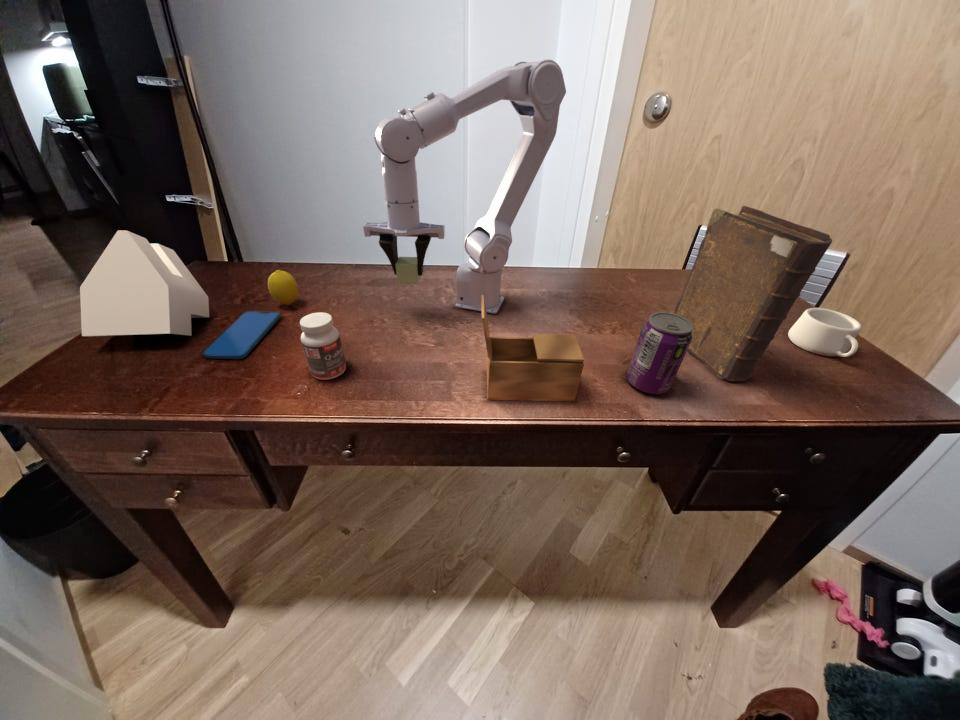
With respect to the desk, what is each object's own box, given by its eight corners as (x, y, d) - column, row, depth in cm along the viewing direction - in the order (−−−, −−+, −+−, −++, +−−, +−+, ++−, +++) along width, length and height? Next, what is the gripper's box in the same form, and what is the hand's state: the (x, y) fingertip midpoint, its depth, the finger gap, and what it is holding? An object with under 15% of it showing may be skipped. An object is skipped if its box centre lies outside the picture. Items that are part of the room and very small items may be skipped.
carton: (487, 400, 57) (489, 357, 52) (486, 372, 63) (488, 332, 58) (574, 401, 58) (585, 359, 53) (566, 374, 63) (575, 334, 58)
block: (397, 283, 71) (395, 264, 69) (401, 275, 74) (399, 256, 72) (418, 284, 71) (416, 264, 69) (420, 276, 74) (419, 257, 72)
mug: (775, 331, 77) (790, 305, 73) (819, 331, 77) (836, 306, 74) (819, 365, 67) (839, 338, 64) (869, 366, 68) (892, 338, 64)
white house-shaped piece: (210, 337, 75) (206, 249, 75) (170, 333, 64) (165, 230, 64) (135, 340, 73) (132, 250, 73) (81, 336, 62) (77, 230, 62)
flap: (491, 358, 52) (488, 358, 52) (489, 333, 58) (487, 333, 58) (484, 317, 48) (481, 318, 48) (483, 294, 54) (481, 295, 54)
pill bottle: (336, 383, 59) (323, 331, 53) (304, 378, 60) (287, 327, 54) (352, 362, 64) (341, 312, 58) (322, 358, 64) (308, 308, 59)
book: (753, 383, 63) (844, 237, 48) (716, 386, 62) (797, 238, 47) (693, 331, 76) (750, 204, 61) (662, 333, 75) (711, 205, 60)
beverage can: (673, 400, 58) (702, 337, 51) (627, 393, 59) (650, 331, 52) (664, 373, 64) (690, 313, 57) (622, 367, 65) (642, 307, 58)
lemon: (268, 307, 78) (256, 272, 74) (288, 297, 83) (278, 263, 78) (288, 313, 77) (277, 277, 72) (308, 302, 81) (298, 267, 76)
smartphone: (199, 354, 63) (245, 310, 75) (202, 359, 63) (247, 314, 75) (242, 356, 63) (281, 312, 75) (244, 360, 63) (283, 316, 75)
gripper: (353, 204, 60) (366, 280, 69) (441, 207, 61) (443, 282, 69) (364, 194, 66) (375, 266, 74) (444, 197, 66) (446, 268, 74)
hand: (408, 273), depth 72 cm, fingers closed on block, 4 cm apart
